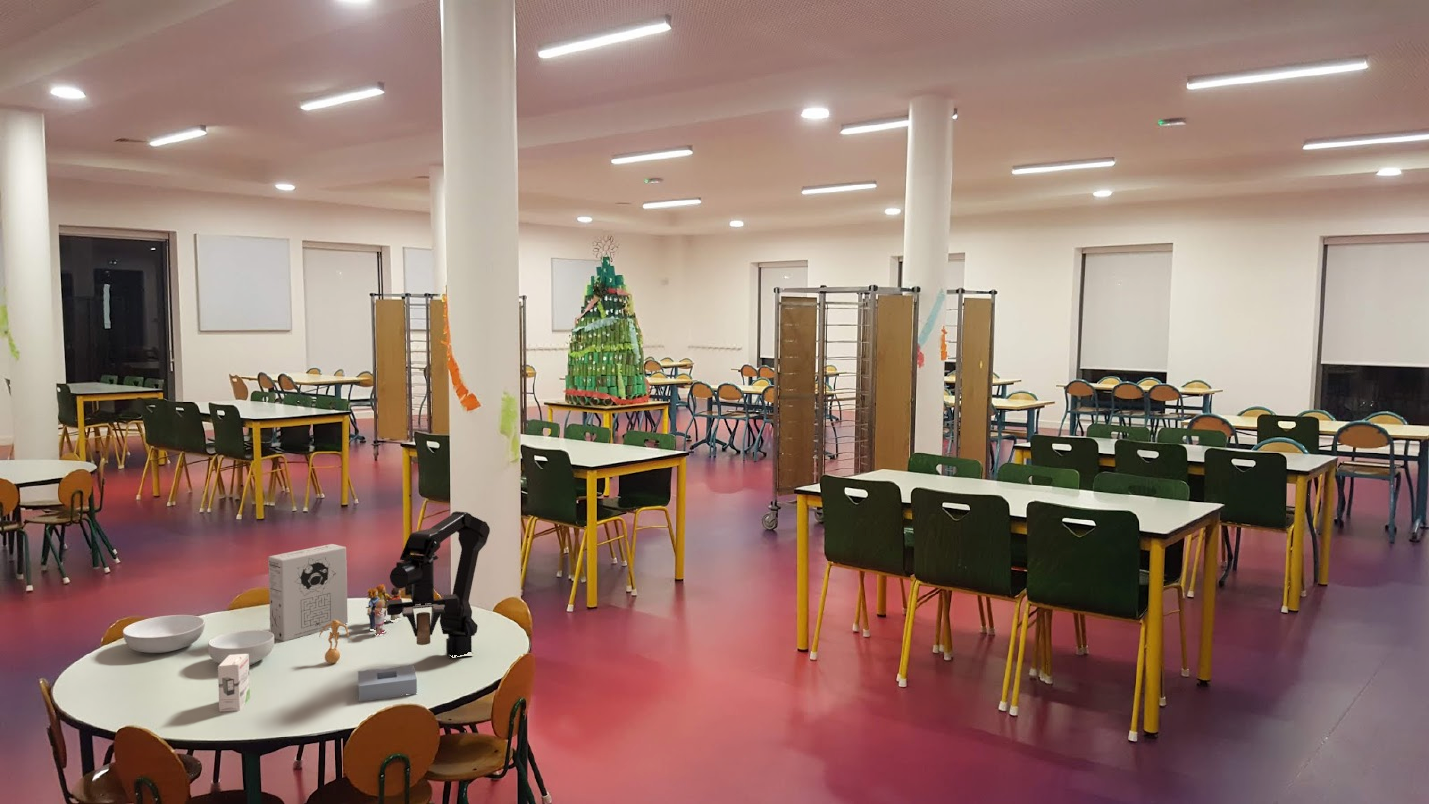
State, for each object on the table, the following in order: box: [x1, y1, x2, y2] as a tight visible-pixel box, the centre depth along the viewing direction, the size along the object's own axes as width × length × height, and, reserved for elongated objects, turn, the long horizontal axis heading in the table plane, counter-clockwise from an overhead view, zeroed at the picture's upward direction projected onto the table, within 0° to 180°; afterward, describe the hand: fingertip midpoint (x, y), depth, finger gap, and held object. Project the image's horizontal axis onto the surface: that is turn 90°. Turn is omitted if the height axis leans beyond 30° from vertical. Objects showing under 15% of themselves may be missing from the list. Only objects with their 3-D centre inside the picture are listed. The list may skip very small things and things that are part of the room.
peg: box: [415, 611, 431, 646], centre depth 259 cm, size 4×4×8 cm
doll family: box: [365, 583, 402, 635], centre depth 299 cm, size 21×10×13 cm, turn 179°
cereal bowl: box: [207, 629, 275, 667], centre depth 267 cm, size 17×17×7 cm
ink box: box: [217, 654, 251, 712], centre depth 238 cm, size 9×5×12 cm, turn 10°
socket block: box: [357, 664, 418, 702], centre depth 249 cm, size 14×11×4 cm
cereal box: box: [267, 543, 349, 642], centre depth 295 cm, size 22×8×25 cm, turn 144°
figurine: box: [318, 619, 350, 664], centre depth 269 cm, size 8×6×12 cm
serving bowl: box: [122, 614, 206, 654], centre depth 279 cm, size 21×21×7 cm
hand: (423, 635), depth 259 cm, fingers closed on peg, 4 cm apart
